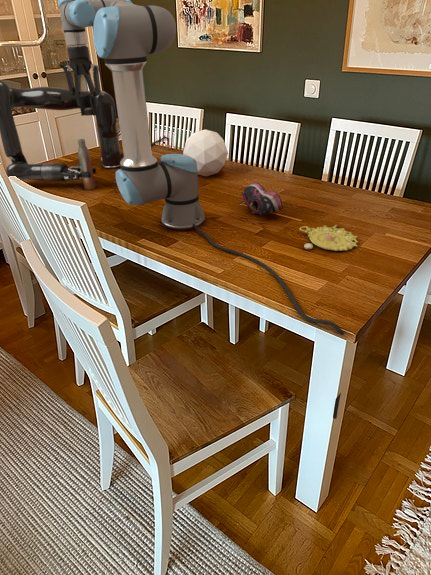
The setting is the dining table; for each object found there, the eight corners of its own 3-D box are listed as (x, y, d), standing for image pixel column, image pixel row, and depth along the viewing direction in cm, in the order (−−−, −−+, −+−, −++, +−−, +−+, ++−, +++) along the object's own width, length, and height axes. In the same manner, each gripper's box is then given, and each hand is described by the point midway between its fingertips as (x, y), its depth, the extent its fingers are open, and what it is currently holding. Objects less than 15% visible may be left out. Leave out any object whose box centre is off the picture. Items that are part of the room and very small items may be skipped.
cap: (94, 113, 173) (93, 107, 171) (94, 115, 169) (93, 109, 168) (83, 114, 172) (82, 108, 171) (83, 116, 168) (82, 110, 167)
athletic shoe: (254, 181, 170) (227, 189, 167) (283, 176, 151) (253, 185, 147) (260, 210, 173) (234, 218, 170) (290, 209, 154) (261, 219, 150)
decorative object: (343, 255, 128) (285, 234, 139) (342, 262, 130) (284, 241, 140) (372, 230, 142) (317, 213, 152) (371, 237, 143) (316, 219, 153)
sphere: (211, 192, 199) (209, 165, 180) (177, 170, 204) (171, 142, 185) (236, 162, 204) (236, 133, 185) (201, 142, 209) (198, 112, 190)
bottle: (98, 187, 189) (89, 139, 178) (89, 190, 186) (80, 141, 175) (90, 185, 192) (82, 137, 181) (82, 188, 188) (72, 140, 178)
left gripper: (45, 168, 179) (85, 169, 177) (60, 158, 191) (97, 158, 189) (49, 186, 183) (89, 187, 181) (63, 175, 195) (100, 176, 193)
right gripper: (103, 44, 160) (113, 112, 172) (59, 46, 163) (72, 113, 175) (95, 46, 154) (106, 116, 166) (50, 47, 156) (64, 117, 169)
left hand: (93, 172), depth 185 cm, fingers closed on bottle, 4 cm apart
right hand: (89, 114), depth 171 cm, fingers closed on cap, 4 cm apart
